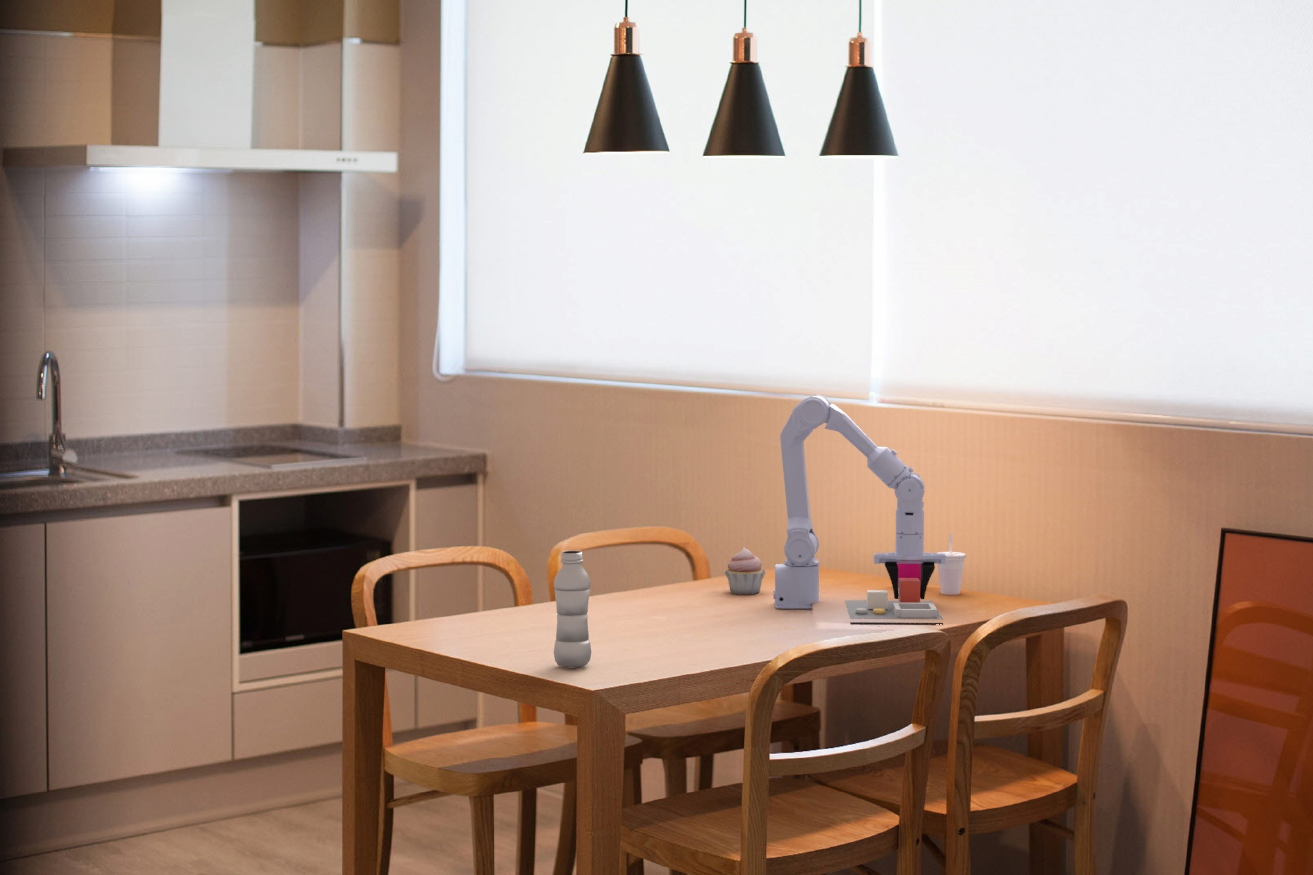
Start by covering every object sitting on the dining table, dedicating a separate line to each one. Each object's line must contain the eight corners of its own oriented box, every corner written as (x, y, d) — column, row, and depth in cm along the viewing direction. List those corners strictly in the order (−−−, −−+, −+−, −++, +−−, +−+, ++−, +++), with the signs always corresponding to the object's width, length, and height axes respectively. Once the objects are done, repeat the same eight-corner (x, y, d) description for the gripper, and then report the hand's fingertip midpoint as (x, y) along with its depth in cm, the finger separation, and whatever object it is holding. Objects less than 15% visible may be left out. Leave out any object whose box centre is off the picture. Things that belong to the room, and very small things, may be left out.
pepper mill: (892, 588, 342) (892, 499, 341) (925, 589, 341) (925, 499, 340) (892, 594, 335) (893, 503, 334) (926, 595, 334) (926, 503, 333)
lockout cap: (900, 605, 315) (900, 581, 315) (898, 601, 319) (898, 577, 319) (920, 605, 315) (920, 581, 315) (918, 601, 319) (918, 578, 319)
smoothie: (964, 596, 333) (964, 531, 332) (967, 601, 326) (967, 535, 325) (933, 595, 333) (934, 531, 332) (936, 601, 327) (936, 535, 326)
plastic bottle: (547, 669, 264) (546, 553, 262) (563, 661, 270) (562, 548, 269) (582, 672, 262) (580, 555, 260) (597, 664, 268) (596, 550, 266)
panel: (850, 624, 302) (850, 610, 302) (844, 605, 322) (844, 593, 322) (943, 625, 301) (943, 611, 300) (931, 606, 321) (931, 593, 320)
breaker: (867, 608, 311) (867, 592, 310) (866, 606, 313) (866, 590, 313) (887, 609, 310) (887, 592, 310) (886, 606, 313) (886, 590, 313)
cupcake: (744, 587, 345) (744, 543, 344) (774, 592, 338) (774, 547, 338) (714, 592, 339) (714, 547, 338) (745, 597, 332) (745, 551, 331)
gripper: (875, 535, 313) (875, 601, 314) (947, 535, 312) (947, 602, 313) (873, 530, 320) (872, 595, 321) (943, 530, 319) (943, 595, 320)
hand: (909, 598), depth 317 cm, fingers open, 5 cm apart
